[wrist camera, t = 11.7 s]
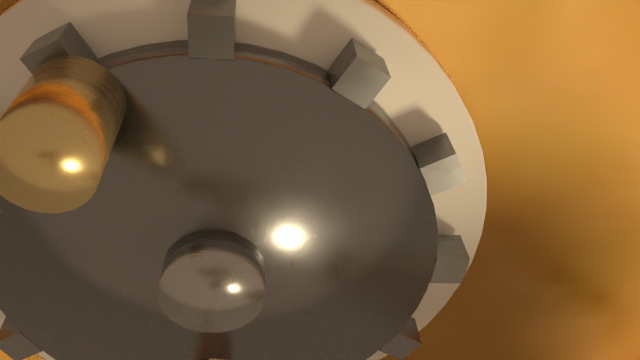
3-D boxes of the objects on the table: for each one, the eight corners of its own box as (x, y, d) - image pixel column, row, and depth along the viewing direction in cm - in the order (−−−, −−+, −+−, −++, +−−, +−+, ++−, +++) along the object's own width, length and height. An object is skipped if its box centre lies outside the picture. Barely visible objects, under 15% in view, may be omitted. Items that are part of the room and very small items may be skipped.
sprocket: (73, -146, 17) (3, -107, 12) (567, 179, 25) (633, 274, 20) (-118, 303, 26) (-197, 418, 21) (287, 434, 34) (291, 538, 29)
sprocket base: (561, 4, 22) (636, 68, 18) (401, 388, 35) (420, 481, 31) (-127, -112, 18) (-253, -67, 14) (-23, 367, 31) (-70, 469, 27)
